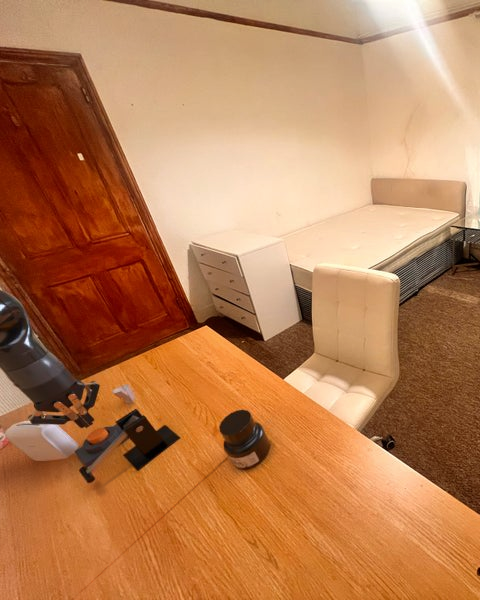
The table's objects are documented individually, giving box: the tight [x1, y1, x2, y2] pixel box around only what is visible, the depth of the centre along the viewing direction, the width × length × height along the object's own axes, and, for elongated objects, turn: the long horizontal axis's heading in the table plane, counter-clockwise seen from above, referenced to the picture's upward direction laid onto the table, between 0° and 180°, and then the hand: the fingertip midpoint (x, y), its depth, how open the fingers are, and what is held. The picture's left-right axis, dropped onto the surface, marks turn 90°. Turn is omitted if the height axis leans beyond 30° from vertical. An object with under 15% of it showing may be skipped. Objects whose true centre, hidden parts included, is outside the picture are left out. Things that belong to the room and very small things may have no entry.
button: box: [86, 427, 109, 445], centre depth 79 cm, size 4×4×2 cm
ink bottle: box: [218, 409, 271, 470], centre depth 74 cm, size 10×9×12 cm
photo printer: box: [4, 420, 80, 462], centre depth 77 cm, size 10×4×12 cm, turn 90°
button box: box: [74, 423, 130, 468], centre depth 80 cm, size 10×7×4 cm
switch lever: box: [78, 415, 139, 484], centre depth 72 cm, size 14×5×2 cm, turn 148°
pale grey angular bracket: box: [112, 384, 136, 405], centre depth 92 cm, size 7×2×8 cm, turn 35°
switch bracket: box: [115, 408, 181, 472], centre depth 76 cm, size 10×8×12 cm
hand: (88, 424), depth 76 cm, fingers closed
